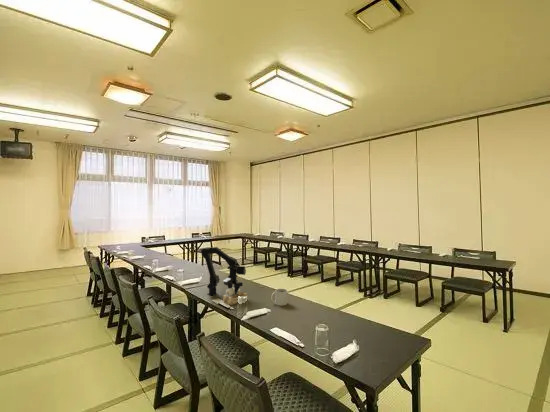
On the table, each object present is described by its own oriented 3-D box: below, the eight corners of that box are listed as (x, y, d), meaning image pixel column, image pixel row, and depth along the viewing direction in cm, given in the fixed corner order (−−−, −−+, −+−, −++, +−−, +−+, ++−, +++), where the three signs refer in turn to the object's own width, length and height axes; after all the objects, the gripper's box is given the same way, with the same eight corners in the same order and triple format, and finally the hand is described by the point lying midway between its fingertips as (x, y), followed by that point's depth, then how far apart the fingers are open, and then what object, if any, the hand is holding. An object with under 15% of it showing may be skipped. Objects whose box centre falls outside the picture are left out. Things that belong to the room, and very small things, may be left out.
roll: (230, 297, 219) (230, 289, 219) (225, 295, 223) (225, 288, 224) (240, 294, 226) (240, 287, 226) (235, 292, 231) (235, 285, 231)
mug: (288, 302, 209) (288, 289, 209) (284, 306, 200) (284, 293, 200) (276, 300, 213) (276, 287, 214) (270, 304, 205) (270, 291, 205)
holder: (222, 301, 211) (222, 295, 211) (239, 296, 223) (239, 290, 223) (231, 305, 203) (231, 298, 203) (247, 299, 215) (247, 293, 215)
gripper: (218, 274, 226) (218, 292, 226) (231, 278, 213) (231, 298, 213) (229, 271, 234) (229, 290, 234) (243, 275, 221) (243, 294, 221)
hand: (233, 293), depth 225 cm, fingers open, 7 cm apart
